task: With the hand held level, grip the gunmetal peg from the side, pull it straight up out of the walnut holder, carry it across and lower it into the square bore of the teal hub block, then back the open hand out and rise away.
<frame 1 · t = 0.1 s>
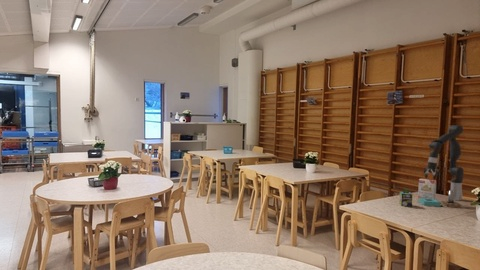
hand: (430, 178, 311), 22 cm above the table, tool pointing down, fingers open, 8 cm apart
peg: (451, 198, 296), in the holder
chalk box: (405, 205, 295), on the table
hub: (429, 204, 300), on the table
holder: (450, 205, 296), on the table
cracker box: (426, 200, 316), on the table
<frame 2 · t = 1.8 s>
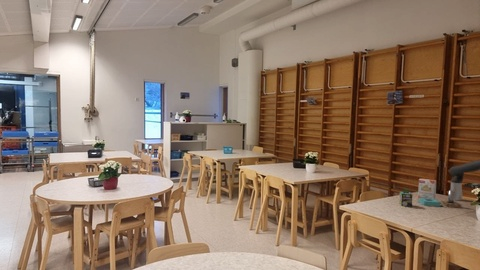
hand: (466, 184, 287), 22 cm above the table, tool horizontal, fingers open, 8 cm apart
nothing on the table moved.
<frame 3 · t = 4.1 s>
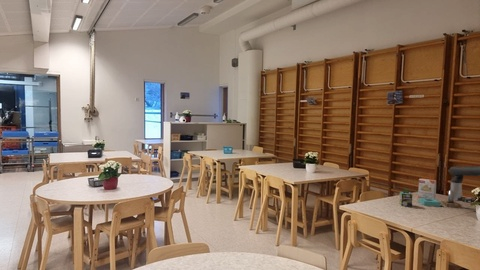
hand: (459, 198, 291), 8 cm above the table, tool horizontal, fingers open, 8 cm apart
nothing on the table moved.
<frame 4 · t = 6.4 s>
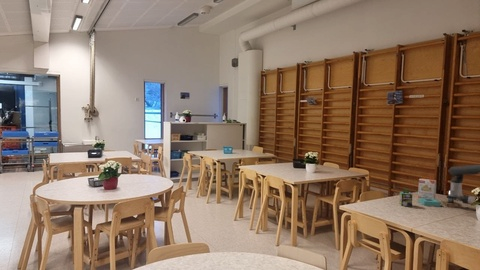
hand: (447, 196, 298), 8 cm above the table, tool horizontal, fingers closed on peg, 4 cm apart
peg: (451, 198, 296), in the holder, touching gripper
everything else where it was.
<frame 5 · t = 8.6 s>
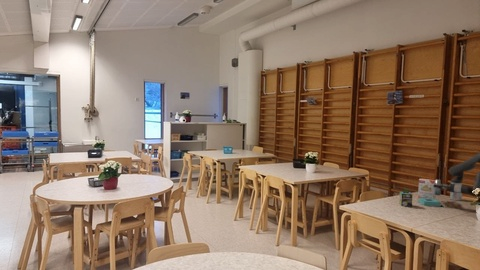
hand: (434, 185, 300), 18 cm above the table, tool horizontal, fingers closed on peg, 4 cm apart
peg: (437, 187, 298), point 16 cm above the table, touching gripper
everything else where it was.
when the fingers open (10 cm above the table, at t = 11.2 s): peg drops 2 cm, resting in hub.
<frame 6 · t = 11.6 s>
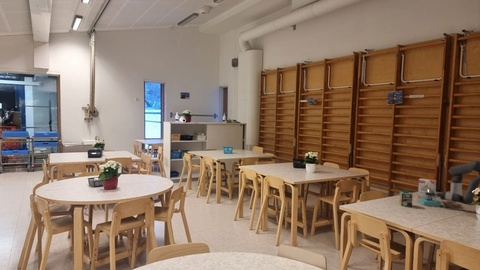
hand: (427, 192, 302), 10 cm above the table, tool horizontal, fingers open, 7 cm apart
peg: (429, 196, 300), in the hub
everything else where it was.
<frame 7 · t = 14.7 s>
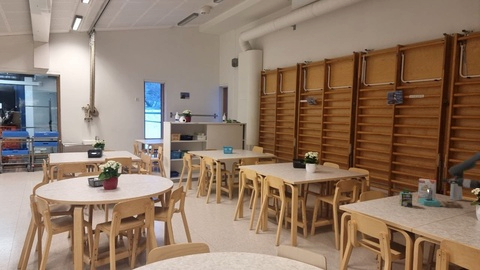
hand: (443, 179, 291), 25 cm above the table, tool horizontal, fingers open, 8 cm apart
nothing on the table moved.
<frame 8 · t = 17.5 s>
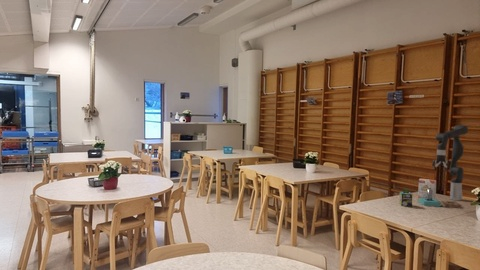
hand: (440, 171, 311), 30 cm above the table, tool pointing down, fingers open, 8 cm apart
nothing on the table moved.
at the end: peg 0.1 cm off-centre on the hub, point 7.0 cm above the hub's base; peg tilted 0°; the gripper is holding nothing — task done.
